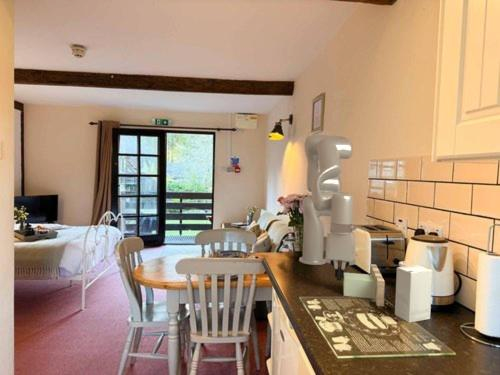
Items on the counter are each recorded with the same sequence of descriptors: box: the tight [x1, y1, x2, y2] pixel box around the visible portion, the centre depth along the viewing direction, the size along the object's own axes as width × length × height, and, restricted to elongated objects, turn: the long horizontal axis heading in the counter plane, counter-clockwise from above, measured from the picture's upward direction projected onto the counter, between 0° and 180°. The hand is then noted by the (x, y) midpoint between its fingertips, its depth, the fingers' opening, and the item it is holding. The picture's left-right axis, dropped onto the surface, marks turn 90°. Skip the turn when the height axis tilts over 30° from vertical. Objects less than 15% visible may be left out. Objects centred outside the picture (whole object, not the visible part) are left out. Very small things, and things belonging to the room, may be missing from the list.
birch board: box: [369, 263, 386, 307], centre depth 123 cm, size 22×2×8 cm, turn 167°
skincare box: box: [394, 264, 433, 324], centre depth 103 cm, size 8×6×15 cm
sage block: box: [342, 271, 375, 300], centre depth 124 cm, size 8×10×6 cm
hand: (339, 279), depth 125 cm, fingers closed
